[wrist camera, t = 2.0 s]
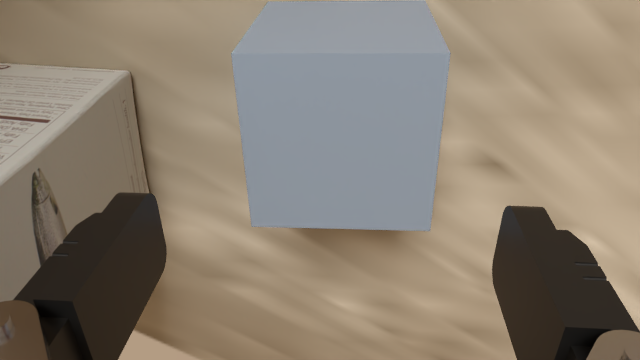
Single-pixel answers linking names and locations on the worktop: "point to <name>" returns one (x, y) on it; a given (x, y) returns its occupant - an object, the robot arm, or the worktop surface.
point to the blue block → (341, 114)
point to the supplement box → (60, 158)
